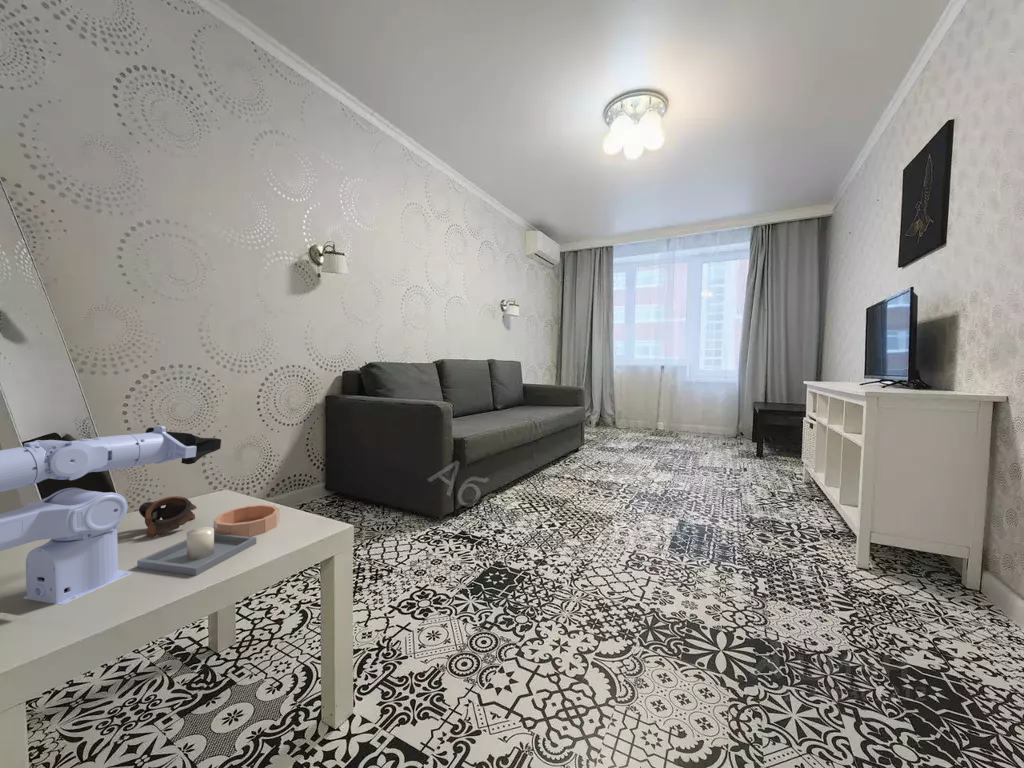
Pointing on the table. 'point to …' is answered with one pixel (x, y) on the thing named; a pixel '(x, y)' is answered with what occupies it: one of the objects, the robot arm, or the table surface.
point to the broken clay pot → (166, 514)
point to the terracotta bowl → (247, 520)
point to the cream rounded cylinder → (200, 543)
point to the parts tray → (178, 563)
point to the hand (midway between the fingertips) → (205, 441)
